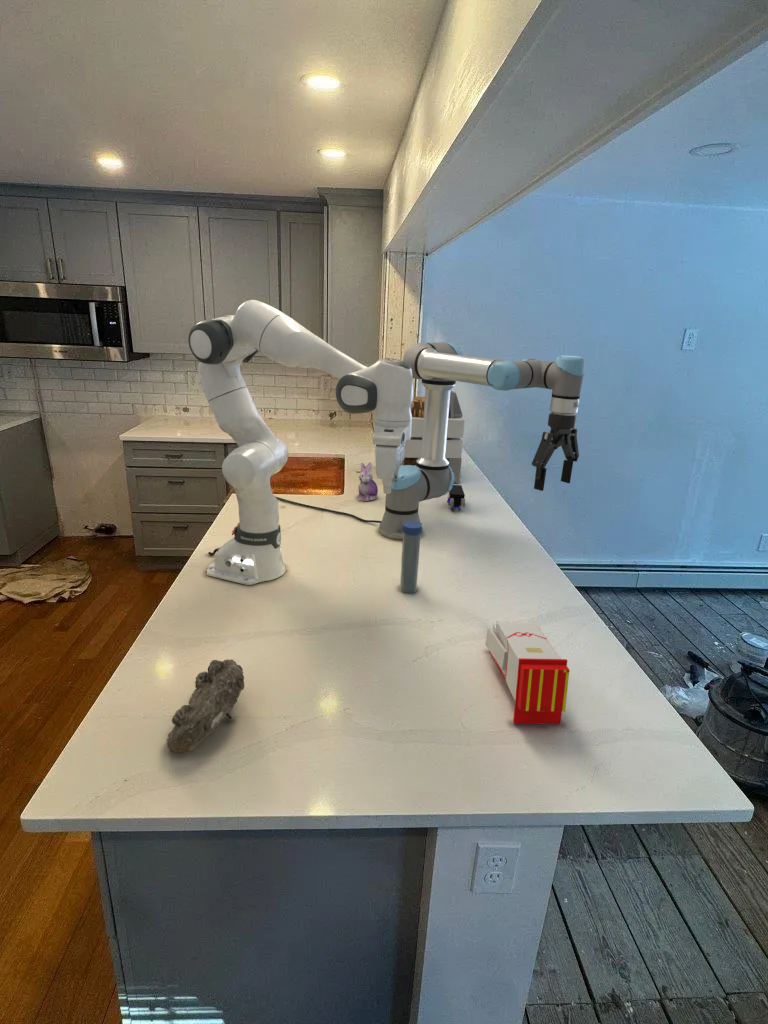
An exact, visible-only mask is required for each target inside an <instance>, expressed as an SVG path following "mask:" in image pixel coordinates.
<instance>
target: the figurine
mask: <svg viewBox="0 0 768 1024" xmlns="http://www.w3.org/2000/svg"><path fill="white" fill-rule="evenodd" d="M372 465H373V464H372V461H370V462H368V463H367V465H366V466H365V464H364V462H361V463H360V473H359V475H358V480H359V481H360V483H359V484H358V487H357V489H358V490H357V491H358V495H357V498H358V501H360V502H361V501H362V502H369V501H374V500H376V499H377V497H378V492H379V491H378V485H377V483H376V482H375V480H373V474H372V472H371V470H372Z"/></svg>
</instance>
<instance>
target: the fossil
mask: <svg viewBox="0 0 768 1024" xmlns="http://www.w3.org/2000/svg"><path fill="white" fill-rule="evenodd" d="M243 670H244V669H243V667H242V665H240V664H237V662H236V661H235V660H234V659H232V658H231V659H227V658H226V659H224V660H223V661H222V660H217V659H212V660H211V661H210V663H209V665H208V666H207V671H201V672H199V673H198V674H197V675H196V676H195V680H194V684H195V685H194V687H195V689H194V690H193V693H192V694H191V697H190V698H189V700H188V704H184V705H182V706H181V707H180V709H177V710H176V711H175V713H174V715H173V716H172V718H171V723H172V724H173V727H172V730H171V731H170V732H168V734H167V738H166V741H167V742H166V745H167V749H168V750H169V751H173V752H174V753H176V754H178V753H182V752H188V751H189V752H192V751H193V750H195V748H196V747H197V746H199V744H200V743H201V742H203V741H204V740H205V739H206V738H207V737H208V736H209V735H210V734H211V733H212V732H214V730H215V729H217V727H218V726H219V724H220V722H221V721H222V720H223V719H224V718H225V716H226V717H227V719H229V720H233V717H232V715H230V714H229V710H230V709H231V708H234V706H235V704H236V703H237V702H238V699H239V697H240V695H241V693H242V691H243V690H245V689H244V688H245V675H244V671H243Z"/></svg>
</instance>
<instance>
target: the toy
mask: <svg viewBox="0 0 768 1024" xmlns="http://www.w3.org/2000/svg"><path fill="white" fill-rule="evenodd" d="M485 637H486V638H485V646H486V647H487V649H488V652H489V654H490V655H491V657H492V659H493V661H494V663H495V664H496V666H497V668H498V670H499V672H500V673H501V675H502V677H503V679H504V680H505V683H506V685H507V687H508V690H509V691H510V693H511V695H512V698H513V700H514V709H513V720H512V721H513V724H514V725H561V724H562V714H563V712H566V706H567V698H568V687H569V678H570V668H569V667H568V659H566V658H562V657H561V656H560V655H559V653H558V652H557V651H556V649H555V648H554V647H553V645H552V644H551V642H550V641H549V639H548V638H547V637H546V635H545V634H544V632H543V631H542V630H541V628H540V626H539V625H537V623H536V622H535V621H510V620H508V621H507V620H497V621H496V623H493V624H492V628H491V627H490V626H487V629H486V636H485Z"/></svg>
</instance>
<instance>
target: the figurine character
mask: <svg viewBox="0 0 768 1024" xmlns="http://www.w3.org/2000/svg"><path fill="white" fill-rule="evenodd" d="M446 495H447V496H446V497H447V500H446V503H447V504H448V506H449V508H450V509H451V511H454V509H458V511H461V510H462V509H461V508H465V505H466V497H465V496H466V494H465V492H464V488H463V486H462V485H461V484H453V487H452V489H451V490H450V491H449V492H448V493H447V494H446Z"/></svg>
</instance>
